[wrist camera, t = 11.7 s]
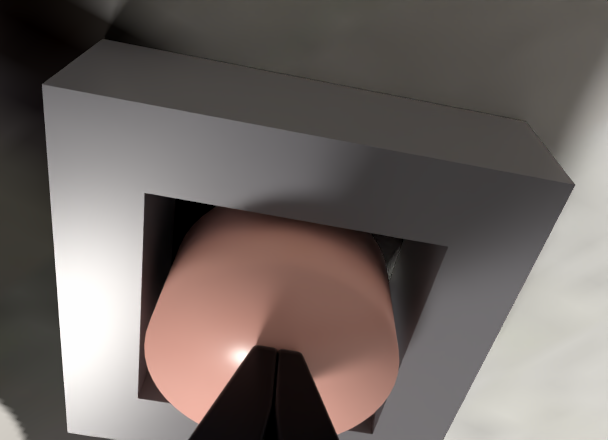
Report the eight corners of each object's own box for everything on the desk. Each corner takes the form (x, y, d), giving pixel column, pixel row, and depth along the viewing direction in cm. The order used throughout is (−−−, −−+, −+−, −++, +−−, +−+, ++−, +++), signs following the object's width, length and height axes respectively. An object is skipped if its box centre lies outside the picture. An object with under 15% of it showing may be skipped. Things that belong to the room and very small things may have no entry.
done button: (414, 214, 10) (433, 289, 9) (359, 373, 13) (364, 458, 11) (181, 172, 10) (148, 240, 8) (169, 342, 12) (141, 425, 11)
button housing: (525, 121, 10) (574, 184, 8) (407, 396, 15) (420, 484, 13) (102, 38, 10) (41, 84, 8) (106, 348, 14) (67, 432, 12)
